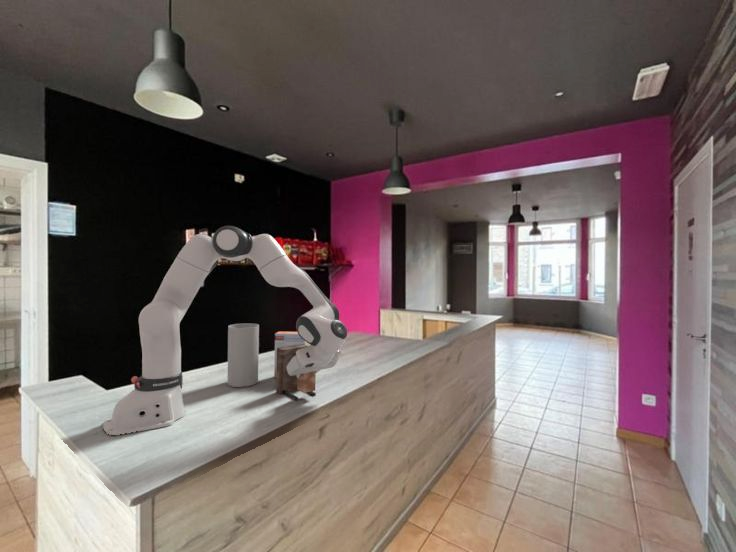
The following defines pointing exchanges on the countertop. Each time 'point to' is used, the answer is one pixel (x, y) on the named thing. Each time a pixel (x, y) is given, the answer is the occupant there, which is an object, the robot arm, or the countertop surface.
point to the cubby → (283, 378)
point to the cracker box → (286, 343)
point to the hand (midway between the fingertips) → (305, 374)
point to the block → (306, 382)
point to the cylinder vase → (243, 354)
